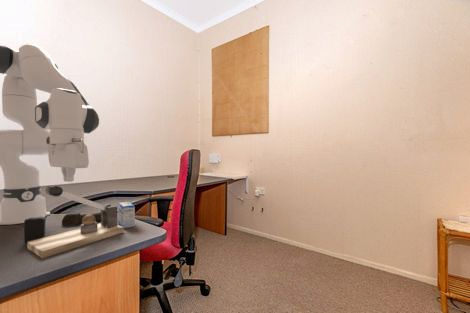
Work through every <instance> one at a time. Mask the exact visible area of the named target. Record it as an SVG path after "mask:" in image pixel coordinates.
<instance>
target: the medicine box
mask: <svg viewBox="0 0 470 313" xmlns="http://www.w3.org/2000/svg"><path fill="white" fill-rule="evenodd" d="M117 204H118V205H117V224H119V226H122V227H123V229H127V228H132V227H133V228H134V227H135V226H136V225H135V223H136V222H135V220H136V216H135V215H136V209H135V208H136V207H135V205H134V204H133V203H132V202H130V201H125V202H124V201H123V202H118V203H117Z"/></svg>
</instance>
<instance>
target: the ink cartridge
mask: <svg viewBox="0 0 470 313" xmlns="http://www.w3.org/2000/svg"><path fill="white" fill-rule="evenodd" d="M23 226H24V228H23V229H24V230H23V233H24V237H23V240H24V241H23V242H24V244H25V245H27V242H29V241H33V240H37V239H40V238H44V237H46V216H45V217H35V218H33V217H32V218H28V219H26V220H24V223H23Z"/></svg>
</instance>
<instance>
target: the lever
mask: <svg viewBox="0 0 470 313" xmlns="http://www.w3.org/2000/svg"><path fill="white" fill-rule="evenodd" d="M45 193H46V194H47V195H49V196H53V197H62V198H66V199H69V200H71V201H74V202H76V203H81V204H84V205H86V206H89V207H93V208H96V209H98V210H100V211H101V210H104V211H105V212H107V206H104V205H105V204H101V203H98V202H96V201H93V200H90V199H87V198H84V197H81V196H79V195H76V194H74V193H70V192H67V191H64V190H63V188H62V187H60V186H57V185H48V186H47V187H45Z"/></svg>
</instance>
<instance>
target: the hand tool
mask: <svg viewBox="0 0 470 313" xmlns="http://www.w3.org/2000/svg"><path fill="white" fill-rule="evenodd" d="M88 214H89V213H85V214H84V213H83V214H81V213H80V212H78V213H67V214H66V215H64V216H63V218H62V220H61V225H62V226H74V225H75V224H77V225H80V224H83V223H82V219H83V217H84V216H86V215H88ZM91 214H92V215H94V216H95V218H96V221H95V222H98V221H99V222H101V211H100V212H96V213H91ZM79 223H80V224H79Z"/></svg>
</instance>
